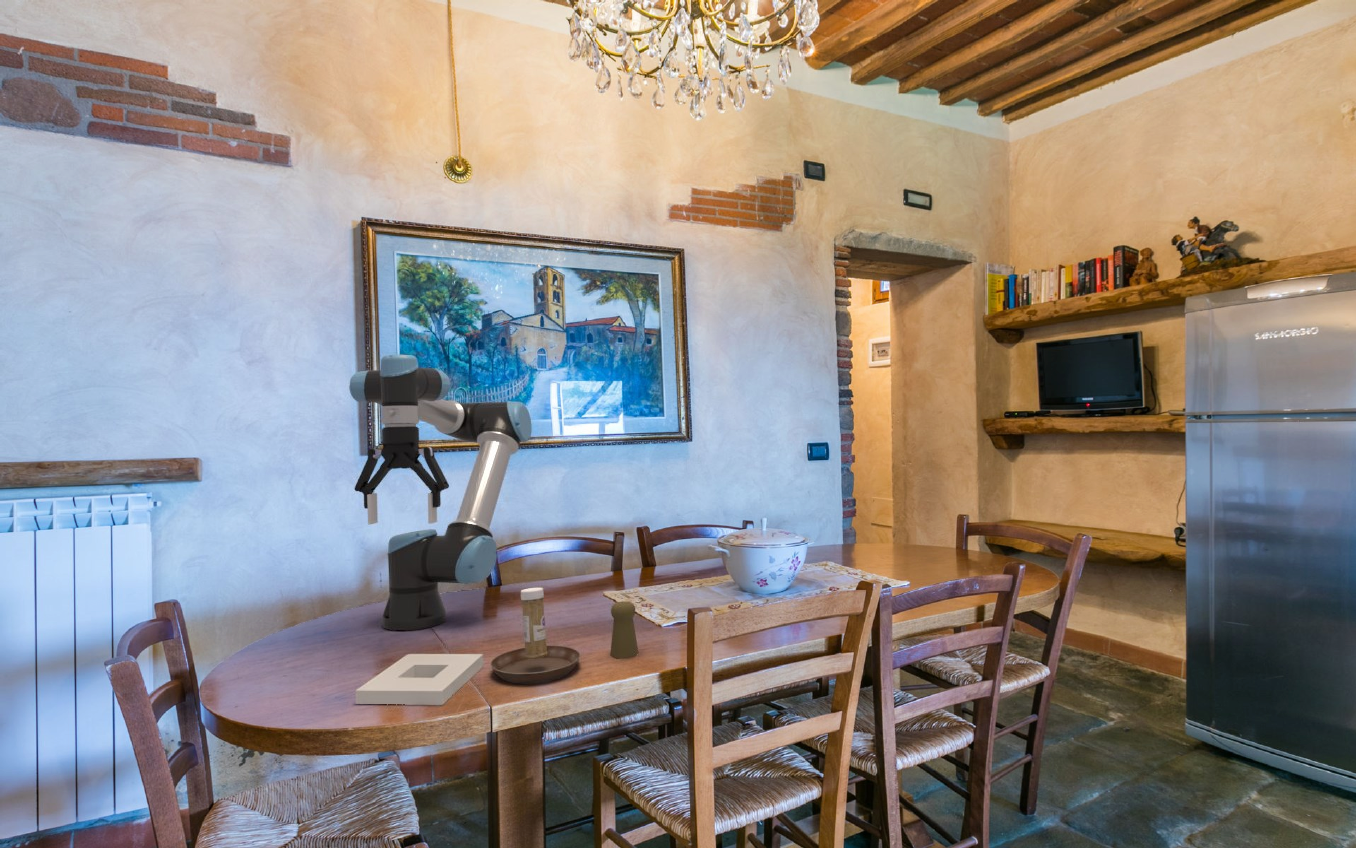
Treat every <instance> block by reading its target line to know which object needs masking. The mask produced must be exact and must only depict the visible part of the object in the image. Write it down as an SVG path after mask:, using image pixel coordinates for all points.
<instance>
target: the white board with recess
mask: <svg viewBox="0 0 1356 848" xmlns="http://www.w3.org/2000/svg"><path fill="white" fill-rule="evenodd" d="M483 667H484V654H483V653H407V654H406V655H404V656H403V657H402V658H400V659H399V660H397V661H396V662H394V663H393V664H392V665H390V666H389V667H387V668H386V669H385V670H383V671H382V672H380V673H378V675H376V676H374V677H373V678H371V679H370V680H369V681H367V682H366V683H364V684H363V685H361V686H360V687H358V688H357V689H356V690H355V705H356V704H357V703H360V704H366V703H367V704H387V706H388V704H396V705H395V706H398V705H397V704H402V705H401V706H411V705H412V706H443V705H444V704H446V702H447V701H449V700H450V699H451V698H452V697H453V696H454V695H455V694H456V693H457V692H458V691H459V690H460V689H461V688H463V686H464V685H465V684H467V683H468V682H469V680H471V679H472V678H473V677H474V676H475V675H476V674H477V673H479V671H481V669H482V668H483ZM452 695H453V696H452ZM403 704H405V705H403Z"/></svg>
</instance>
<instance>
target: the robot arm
mask: <svg viewBox="0 0 1356 848" xmlns="http://www.w3.org/2000/svg"><path fill="white" fill-rule="evenodd" d="M450 388H451V382H450V378H449V376H448V375H447V374H446V373H445V372H444V371H442V370H440V369H437V368H434V367H431V368H429V367H420V366H419V364H418V359H417V357H416V356H414V355H411V354H386V355H384V356H382V357H381V360H380V369H378V370H377V369H376V370H375V369H372V370H371V369H367V370H363V371H357V372H355V373H354V374H353V375H352V376H351V377H350V380H349V393H350V395H351V397H352V398H353V400H354V401H356V402H358V403H365V404H370V403H374V404H378V405H381V424H382V425H384V427H382V429H381V443H382V449H379V448H377V447H375V448H369V449H368V450H367V460H366V461H365V464H364V465H363V468H362V471H361V473H360V475H359V476H358V479H357V481H356V484H355V486H354V491H356V492H360V493H362V494H363V508H364V509H366V510H367V524H368V525H373V524H378V523H379V521H378V520H379V519H378V515H379V514H378V493H375V490H376V488H377V487H379V485H380V483H381V482H382V481H383V479H384V478H385V477H386V476H387V475H388V474H389V472H390V471H391V470H395V469H396V470H397V469H405V470H406V469H410V470H412V471H413V472H414V473H415V474H416V475H417V477H418V479H419V478H420V480H421V481H422V482H423V483H424V484H425V486H426V487H427V488H428V489H429V490H430V492H429V493H427V513H428V514H427V517H428V522H427V524H434V523H438V508H439V507H441V504H442V503H441V501H442V499H441V492H442V491H444V490H448V489H449V488H450V485H449V483H448V481H447V478H446V477H445V475H444V472H443V470H442V468H441V466H440V464H439V463H438V461H437V459H436V457H435V452H434V451H435V450H434V448H433V447H431V446H428V447H424V448H420V445H419V443H420V428H419V427H418V426H417V425H418V424H419V423H420V421H421V422H424V423H427V424H429V425H431V426H433V427H434V428H435V429H436V430H437V431H438V433H440V434H444V435H446V436H449V437H452V438H454V439H457V440H461V441H465V442H469V443H474V444H475V443H476V444H478V446H479V448H478V452H477V456H476V459H475V461H474V465H473V467H472V471H471V474H470V477H469V480H468V482H467V485H466V488H465V493H464V496H463V498H462V501H461V504H460V507H459V510H458V514H457V516H456V520H454V521H452V522H449V523H448V525H447V528H446V530H445V533H444V535H438V532H437V530H436V529H434V528H430V529H423V530H417V531H416V530H415V531H410V532H405V533H401V534H397V535H394V536H392V537H391V538H390V539H389V541H388V546H387V547H388V551H387V559H388V560H387V561H388V587H389V589H388V591H389V592H388V598H387V600H386V604H385V607H384V611H383V615H382V619H381V620H382V621H381V623H382V625H381V626H382V628H383V629H385V628H386V629H385V630H388V629H389V630H388V631H396V630H405V631H415V630H422V629H427V628H431V627H435V626H437V625H440V624H442V623H444V622H445V621H446V620H447V615H446V608H445V605H444V602H443V600H442V597H441V595H440V592H439V583H445V584H447V583H449V584H463V585H468V584H478V583H481V582H483V581H485V580H487V578H488V577H489V576H490V575H491V573H492V572H493V569H494V567H495V565H496V562H497V557H498V554H497V551H498V547H497V543H496V541H495V539H494V534H493V533H492V531H491V530H490V526H491V524H492V520H493V516H494V513H495V509H496V505H497V503H498V499H499V496H500V492H501V491H502V486H503V482H504V479H505V476H506V473H507V469H508V466H509V461H510V459H511V456H512V455H514V454H516V453H517V452H518V451H519V448H520V444H521V443H526V442H528V441H529V440H530V439H531V436H532V431H533V429H532V428H533V427H532V419H531V415H530V412H529V410H528V407H527V406H526V405H525V404H524V403H523V402H521V401H511V400H507V401H495V402H493V401H492V402H491V401H490V402H488V401H487V402H459V401H456V400H451V399H449V400H446V399H444V398H445V397H447V395H448V394H449V391H450ZM420 456H421V457H422V458H424V462H426V465H427V466H428V468H429V472H430V473H431V474H430V473H429V472H428V470H426V468H425V467H424V466H423V465H424V464H423V463H422V462H421V461H420V460H419V458H420ZM381 457H382V458H383V459H384V461H383V462H381V464H380V466H379V468H378V470H377V471H376V472H375V474H374V475H373V472H374V471H375V469H376V467H377V464H378V461H379V459H380V458H381ZM372 475H373V476H372ZM432 476H433V477H432Z"/></svg>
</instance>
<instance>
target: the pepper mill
mask: <svg viewBox="0 0 1356 848" xmlns="http://www.w3.org/2000/svg"><path fill="white" fill-rule="evenodd" d="M610 614H611V616H612V618H613V623H612V632H611V633H612V634H611V643H610V644H611V645H610V654H609V655H610V657H611V658H614V659H620V660H623V659H631V657H632V658H635V657H637V656H638V655H639V649H638V641H637V635H636V630H635V623H634V617H635V614H636V607H635V604H634V603H633V602H630V601H624V600H623V601H618V602H615V603H613V604H612V606H611V608H610ZM637 654H638V655H637Z"/></svg>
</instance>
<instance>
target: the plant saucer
mask: <svg viewBox="0 0 1356 848" xmlns="http://www.w3.org/2000/svg"><path fill="white" fill-rule="evenodd" d="M546 647H547V655H546V656H544V657H541V658H537V659H528V658H526V657H525V654H526V653H525V647H522V648H516V649H512V650H508V651H507V652H504V653H502V654H501V653H500V654H498V655H497V656H494V658H493V659H491V661H490V667H491V669H492V670H493V672H494V673H495V674H496V675H497V677H499V678H500V679H502V681H506V682H508V683H512V684H520V685H521V684H529V685H530V684H540V683H546V682H551V681H555V680H558V679H561V678H562V677H565V676H568V675H569V674H570V673H571V671H573V669H574V668H575V667H576V665H577V664H578V662H579V660H580V658H581V652H579V650H577V649H575V648H572V647H569V646H562V645H546Z"/></svg>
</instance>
